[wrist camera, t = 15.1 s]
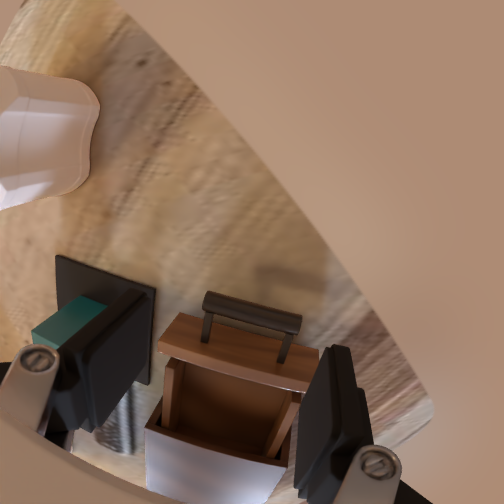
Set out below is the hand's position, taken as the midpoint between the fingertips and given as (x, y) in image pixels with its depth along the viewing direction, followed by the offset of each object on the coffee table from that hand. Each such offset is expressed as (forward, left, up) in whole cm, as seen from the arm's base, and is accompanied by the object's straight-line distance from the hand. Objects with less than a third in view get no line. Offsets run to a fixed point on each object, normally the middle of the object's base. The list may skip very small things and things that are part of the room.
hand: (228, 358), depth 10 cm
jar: (-22, +5, -16) cm, 28 cm away
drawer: (0, -13, -15) cm, 20 cm away
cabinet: (0, -26, -16) cm, 30 cm away
